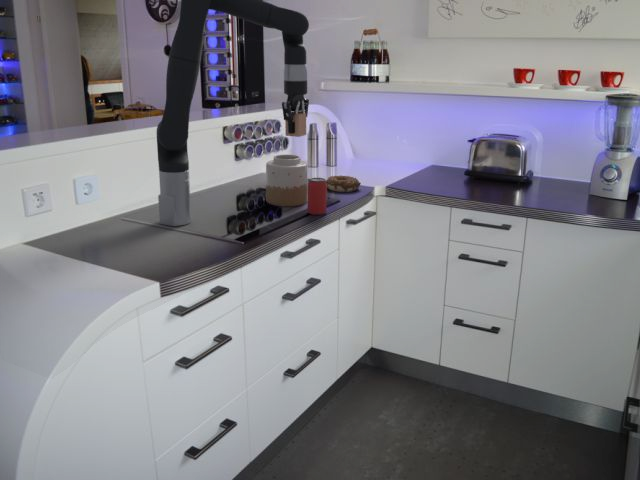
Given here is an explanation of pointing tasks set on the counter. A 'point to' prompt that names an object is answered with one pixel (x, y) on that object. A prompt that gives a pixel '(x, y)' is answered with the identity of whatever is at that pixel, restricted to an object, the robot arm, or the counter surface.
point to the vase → (286, 181)
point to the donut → (342, 183)
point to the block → (298, 125)
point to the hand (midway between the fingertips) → (296, 132)
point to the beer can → (317, 196)
